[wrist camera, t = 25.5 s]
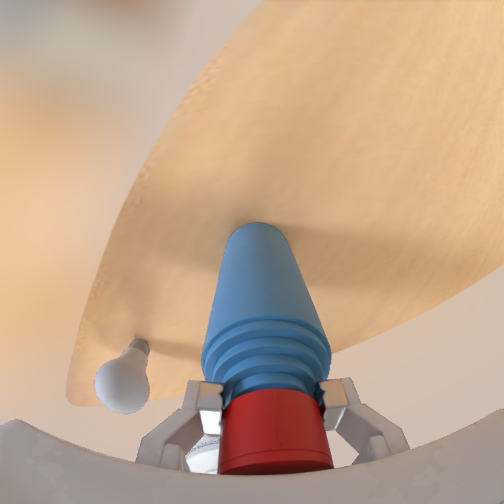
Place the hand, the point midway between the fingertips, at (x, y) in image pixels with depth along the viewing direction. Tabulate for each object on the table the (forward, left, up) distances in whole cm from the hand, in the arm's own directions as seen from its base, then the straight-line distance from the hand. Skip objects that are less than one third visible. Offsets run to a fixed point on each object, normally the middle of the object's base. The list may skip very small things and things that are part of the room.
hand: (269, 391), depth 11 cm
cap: (0, 0, +1) cm, 1 cm away
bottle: (0, 0, -18) cm, 18 cm away
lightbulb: (-12, +14, -18) cm, 26 cm away
